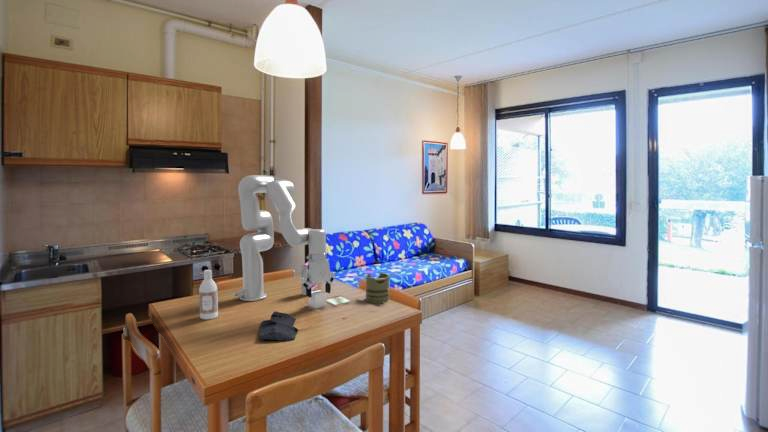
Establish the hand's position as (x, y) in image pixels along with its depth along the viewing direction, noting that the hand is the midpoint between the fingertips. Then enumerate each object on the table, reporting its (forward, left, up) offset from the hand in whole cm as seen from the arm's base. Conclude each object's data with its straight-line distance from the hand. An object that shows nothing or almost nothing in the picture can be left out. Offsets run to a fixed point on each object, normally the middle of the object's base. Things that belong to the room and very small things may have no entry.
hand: (318, 294), depth 174 cm
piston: (+30, -5, -7) cm, 31 cm away
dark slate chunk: (-25, -12, -7) cm, 29 cm away
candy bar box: (+8, +22, -7) cm, 24 cm away
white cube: (0, +1, -5) cm, 5 cm away
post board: (+6, +1, -7) cm, 9 cm away
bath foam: (-41, +20, -7) cm, 46 cm away
